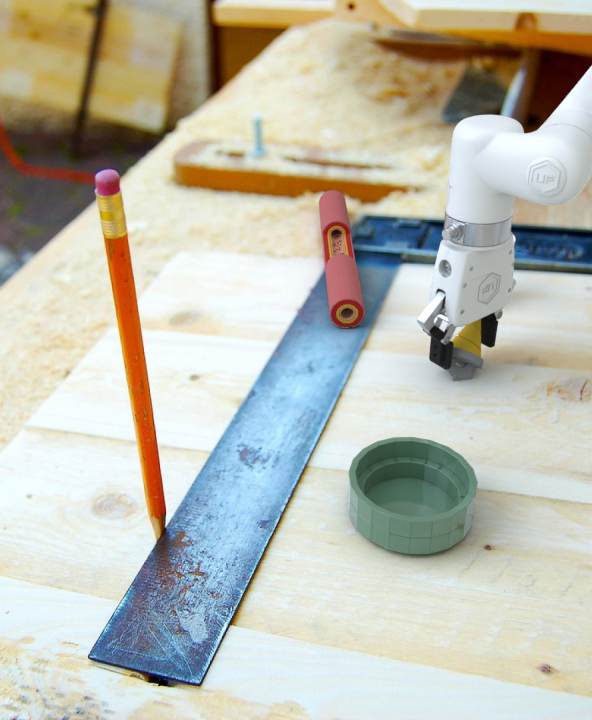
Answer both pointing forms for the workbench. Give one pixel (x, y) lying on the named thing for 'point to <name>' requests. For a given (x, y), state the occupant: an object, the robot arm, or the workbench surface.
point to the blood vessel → (340, 262)
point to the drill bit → (467, 352)
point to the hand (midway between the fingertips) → (462, 352)
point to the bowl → (411, 495)
